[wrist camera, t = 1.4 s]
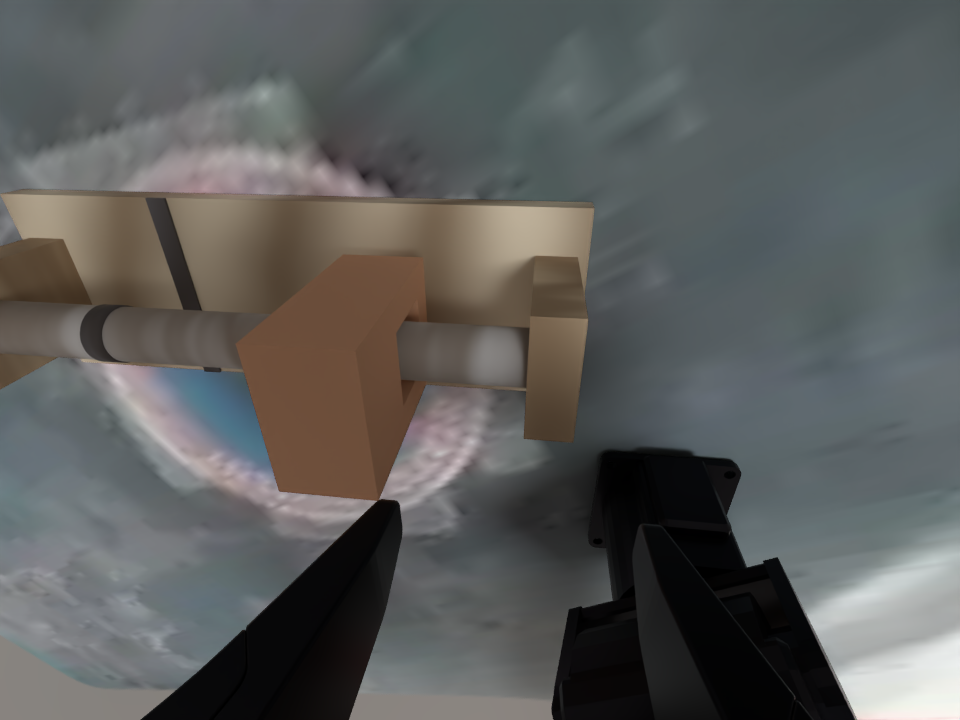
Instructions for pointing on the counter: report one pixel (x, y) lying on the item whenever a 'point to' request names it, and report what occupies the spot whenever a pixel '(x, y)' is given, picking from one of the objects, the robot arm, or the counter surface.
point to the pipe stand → (298, 283)
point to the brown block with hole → (337, 376)
